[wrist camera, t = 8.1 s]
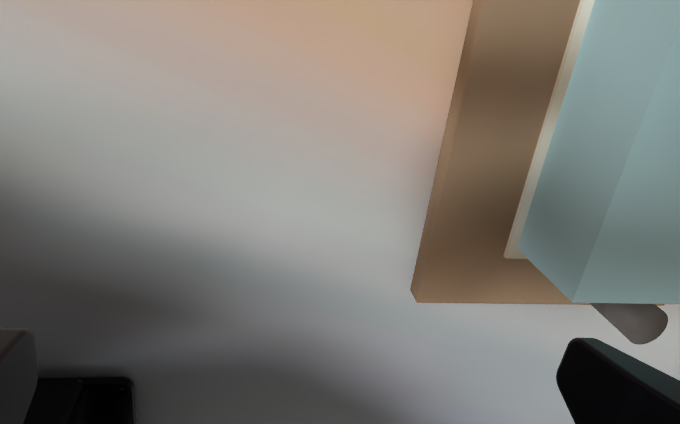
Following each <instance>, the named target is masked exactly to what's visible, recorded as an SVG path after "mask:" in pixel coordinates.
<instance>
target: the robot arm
mask: <svg viewBox="0 0 680 424" xmlns="http://www.w3.org/2000/svg"><path fill="white" fill-rule="evenodd" d="M556 380H557V385H558V387H559V390H560V392H561V394H562V396H563V398H564V401H565V403H566V405H567V407H568V409H569V411H570V414H571V416H572V418H573V420H574V422H575V424H680V381H679V380H677V379H675V378H673V377H671V376H669V375H667V374H665V373H663V372H661V371H659V370H657V369H655V368H653V367H651V366H649V365H647V364H645V363H643V362H641V361H639V360H637V359H635V358H633V357H631V356H629V355H627V354H625V353H623V352H621V351H619V350H618V349H616V348H614V347H612V346H610V345H608V344H606V343H604V342H602V341H600V340H597V339H594V338H575V339H572V340H571V341H570V342H569V344H568V346H567V348H566V351H565V353H564V356H563V358H562V361H561V363H560V365H559V368H558V370H557V375H556ZM118 388H123V389H124V390H119V389H118ZM0 424H136V411H135V395H134V384H133V382H132V381H131V380H130V379H128V378H124V377H103V378H47V379H38V370H37V361H36V351H35V342H34V336H33V333H32V331H30V330H29V329H27V328H0Z"/></svg>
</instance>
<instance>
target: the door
mask: <svg viewBox="0 0 680 424" xmlns="http://www.w3.org/2000/svg"><path fill="white" fill-rule="evenodd" d="M517 249H518V250H519V251H520V252H521V253H522V254H523V255H524V256H525V257H526V258H527V259H528V260H529V261H530V262H531V263H532V264H533V265H534V266H535V267H536V268H537V269H538V270H539V271H541V272H542V273H543V274H544V275H545V276H546V277H547V278H548V279H549V280H550V281H551V282H552V283H553V284H554V285H555V286H556V287H557V288H558V289H559V290H560V291H561V292H562V293H563V294H564V295H565V296H566V297H567V298H568V299H569V300H570V301H571V302H572V303H632V304H680V0H595V1H594V4H593V7H592V11H591V14H590V17H589V20H588V23H587V27H586V30H585V33H584V36H583V39H582V43H581V46H580V49H579V52H578V55H577V59H576V62H575V65H574V68H573V71H572V75H571V78H570V81H569V84H568V87H567V90H566V94H565V97H564V100H563V103H562V106H561V110H560V113H559V116H558V119H557V122H556V126H555V129H554V132H553V135H552V138H551V142H550V145H549V148H548V151H547V154H546V158H545V161H544V164H543V167H542V170H541V174H540V177H539V180H538V183H537V186H536V189H535V193H534V196H533V199H532V202H531V205H530V209H529V212H528V215H527V218H526V221H525V225H524V228H523V231H522V234H521V237H520V241H519V244H518V247H517Z"/></svg>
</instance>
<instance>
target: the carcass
mask: <svg viewBox="0 0 680 424" xmlns="http://www.w3.org/2000/svg"><path fill="white" fill-rule="evenodd" d="M594 1H595V0H473V5H472V10H471V14H470V19H469V23H468V28H467V33H466V37H465V42H464V46H463V51H462V56H461V60H460V65H459V69H458V74H457V78H456V83H455V88H454V92H453V97H452V101H451V106H450V111H449V115H448V120H447V124H446V129H445V133H444V138H443V143H442V147H441V152H440V156H439V161H438V166H437V170H436V175H435V179H434V184H433V189H432V193H431V198H430V202H429V207H428V211H427V216H426V221H425V225H424V230H423V234H422V239H421V244H420V248H419V253H418V257H417V262H416V266H415V271H414V276H413V280H412V285H411V289H410V290H411V292H412V294H413V296H414V298H415V300H416V302H417V303H495V304H580V305H592V306H593V307H594V308H595V309H596V310H598V311H599V312H600V313H601V314H602V315H603V316H604V317H605V318H606V319H607V320H608V321H609V322H610V323H611V324H612V325H614V326H615V327H616V328H617V329H618V330H619V331H620V332H621V333H622V334H623V335H624V336H625V337H626V338H627V339H629V340H630V341H631V342H632V343H634V344H646V343H649V342H651V341H653V340H654V339H656V338H657V337H658V336H660V335H661V334H662V332H663V331H664V330H665V328H666V326H667V323H668V317H667V315H666V313H665V312H664V311H662V310H661V309H660V308H659V307H657V306H656V305H665V304H632V303H572V302H571V301H570V300H569V299H568V298H567V297H566V296H565V295H564V294H563V293H562V292H561V291H560V290H559V289H558V288H557V287H556V286H555V285H554V284H553V283H552V282H551V281H550V280H549V279H548V278H547V277H546V276H545V275H544V274H543V273H542V272H541V271H539V270H538V269H537V268H536V267H535V266H534V265H533V264H532V263H531V262H530V261H529V260H528V259H527V258H526V257H525V256H524V255H523V254H522V253H521V252H520V251H519V250H518V249H517V247H518V244H519V241H520V237H521V234H522V231H523V228H524V225H525V221H526V218H527V215H528V212H529V209H530V205H531V202H532V199H533V196H534V193H535V189H536V186H537V183H538V180H539V177H540V174H541V170H542V167H543V164H544V161H545V158H546V154H547V151H548V148H549V145H550V142H551V138H552V135H553V132H554V129H555V126H556V122H557V119H558V116H559V113H560V110H561V106H562V103H563V100H564V97H565V94H566V90H567V87H568V84H569V81H570V78H571V75H572V71H573V68H574V65H575V62H576V59H577V55H578V52H579V49H580V46H581V43H582V39H583V36H584V33H585V30H586V27H587V23H588V20H589V17H590V14H591V11H592V7H593V4H594Z"/></svg>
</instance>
